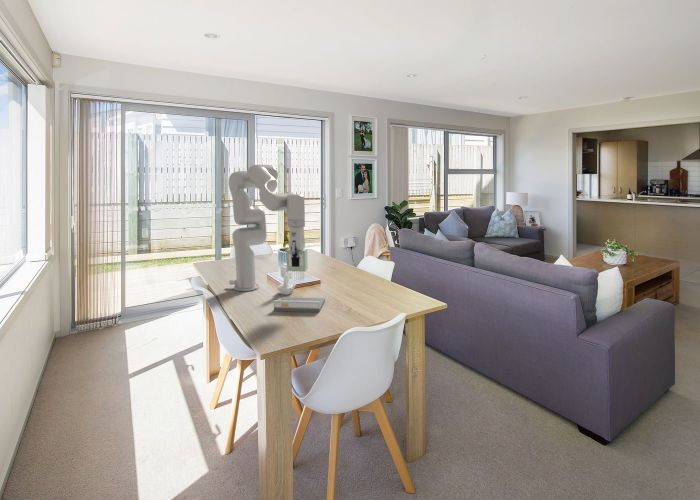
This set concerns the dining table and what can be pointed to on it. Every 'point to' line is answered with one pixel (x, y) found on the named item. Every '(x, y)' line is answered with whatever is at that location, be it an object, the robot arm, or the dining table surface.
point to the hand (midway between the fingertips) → (297, 264)
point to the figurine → (286, 281)
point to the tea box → (302, 261)
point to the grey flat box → (299, 304)
